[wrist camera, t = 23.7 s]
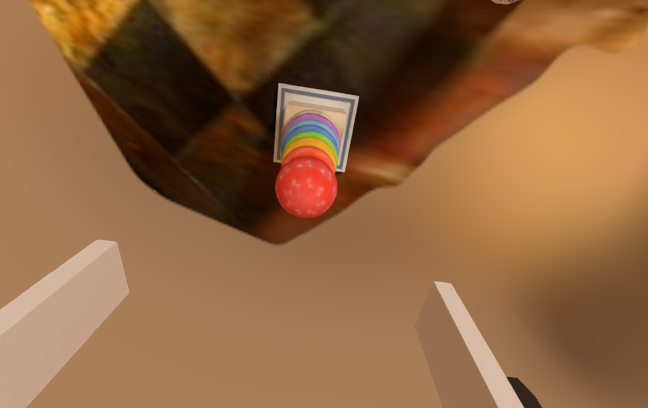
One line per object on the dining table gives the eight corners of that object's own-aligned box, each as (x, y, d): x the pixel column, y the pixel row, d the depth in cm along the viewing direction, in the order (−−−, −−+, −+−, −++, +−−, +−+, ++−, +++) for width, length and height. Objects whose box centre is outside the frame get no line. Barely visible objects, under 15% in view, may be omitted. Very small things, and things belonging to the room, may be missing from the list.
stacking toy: (284, 167, 38) (251, 241, 21) (281, 108, 34) (237, 142, 18) (339, 167, 38) (349, 242, 21) (341, 108, 34) (355, 143, 18)
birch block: (291, 99, 39) (286, 103, 34) (344, 109, 40) (346, 114, 35) (286, 151, 43) (280, 162, 38) (334, 159, 43) (335, 171, 38)
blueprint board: (279, 83, 39) (278, 83, 38) (358, 95, 40) (359, 96, 39) (274, 160, 45) (273, 162, 44) (344, 170, 45) (344, 172, 44)
